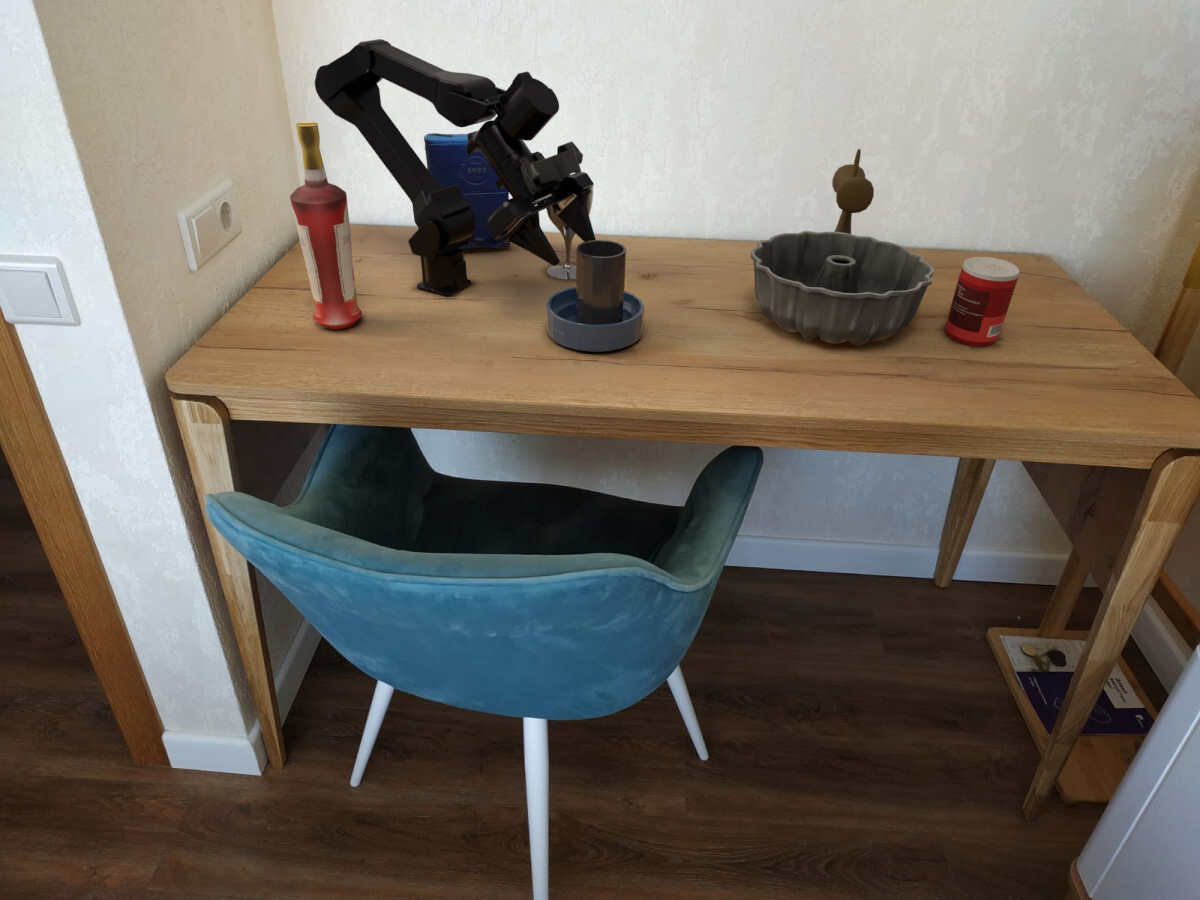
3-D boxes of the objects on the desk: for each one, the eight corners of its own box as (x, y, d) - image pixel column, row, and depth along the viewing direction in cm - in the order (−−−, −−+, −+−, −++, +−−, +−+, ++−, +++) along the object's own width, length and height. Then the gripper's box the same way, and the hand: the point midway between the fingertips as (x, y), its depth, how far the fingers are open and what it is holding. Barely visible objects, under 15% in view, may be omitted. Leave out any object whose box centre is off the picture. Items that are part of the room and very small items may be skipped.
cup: (572, 339, 119) (573, 255, 112) (579, 319, 124) (580, 238, 117) (619, 343, 118) (623, 259, 111) (624, 322, 124) (628, 241, 117)
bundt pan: (748, 279, 141) (755, 221, 135) (908, 296, 137) (923, 237, 131) (737, 348, 119) (746, 283, 114) (927, 371, 115) (946, 304, 109)
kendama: (822, 273, 144) (844, 155, 133) (816, 253, 152) (837, 140, 140) (857, 276, 143) (882, 157, 132) (850, 256, 151) (873, 142, 140)
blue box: (431, 256, 145) (420, 138, 134) (430, 245, 150) (419, 130, 138) (512, 252, 148) (509, 136, 137) (509, 242, 152) (505, 128, 141)
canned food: (996, 329, 127) (1018, 260, 121) (998, 351, 121) (1022, 280, 115) (943, 320, 129) (962, 253, 123) (943, 342, 123) (963, 272, 116)
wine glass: (585, 282, 137) (587, 192, 129) (539, 277, 139) (538, 187, 130) (595, 265, 144) (598, 178, 136) (551, 260, 145) (550, 174, 137)
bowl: (528, 340, 119) (528, 311, 117) (576, 305, 130) (576, 278, 127) (615, 364, 114) (616, 334, 112) (657, 326, 125) (659, 298, 122)
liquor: (315, 313, 125) (280, 118, 109) (365, 310, 126) (337, 117, 110) (311, 335, 119) (273, 131, 103) (364, 331, 120) (334, 130, 105)
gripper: (501, 138, 103) (573, 243, 105) (584, 112, 117) (646, 206, 118) (457, 189, 111) (524, 286, 113) (539, 160, 124) (598, 247, 126)
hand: (576, 254), depth 117 cm, fingers open, 9 cm apart
